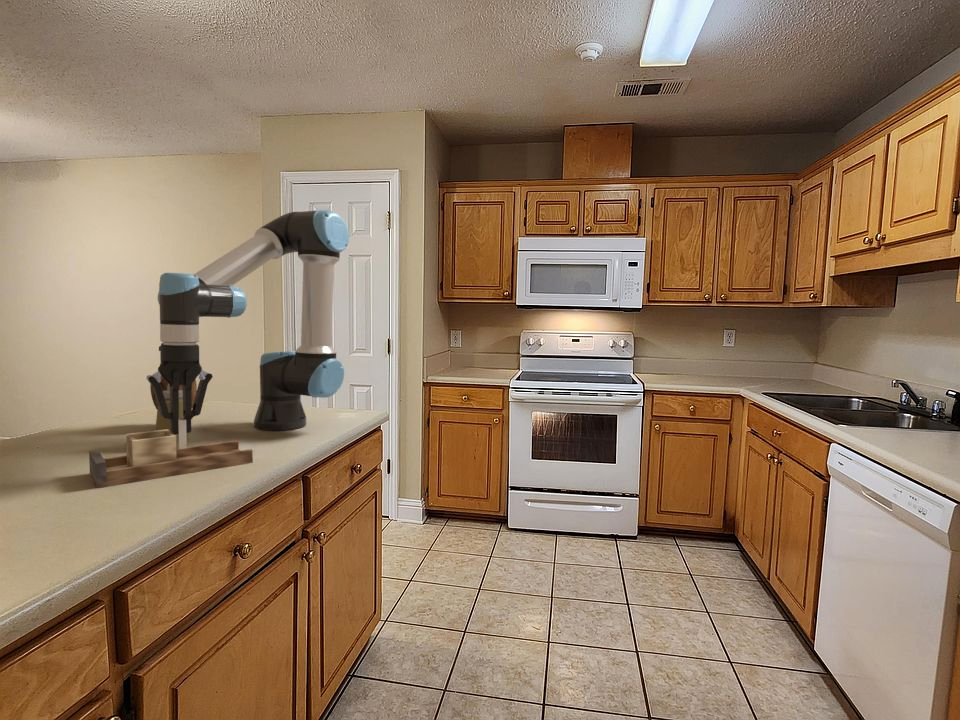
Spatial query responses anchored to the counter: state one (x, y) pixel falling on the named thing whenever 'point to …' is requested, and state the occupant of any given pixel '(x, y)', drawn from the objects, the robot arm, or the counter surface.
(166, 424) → the squeeze bottle
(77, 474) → the counter surface
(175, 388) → the robot arm
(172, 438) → the crate
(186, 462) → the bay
